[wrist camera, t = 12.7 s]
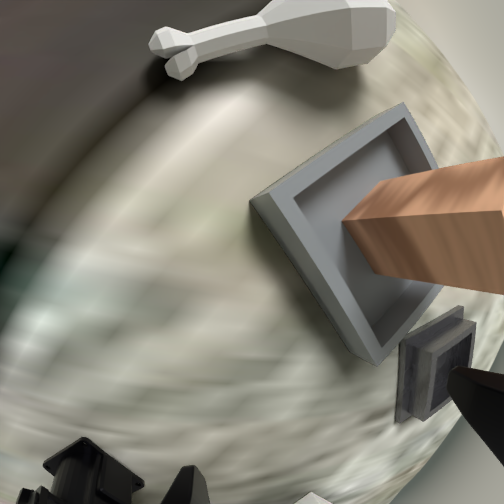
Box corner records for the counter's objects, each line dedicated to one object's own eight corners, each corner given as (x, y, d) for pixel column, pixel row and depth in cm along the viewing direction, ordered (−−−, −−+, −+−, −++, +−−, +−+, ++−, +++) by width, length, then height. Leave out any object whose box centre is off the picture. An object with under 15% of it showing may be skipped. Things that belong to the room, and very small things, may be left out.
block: (375, 274, 21) (520, 297, 9) (341, 220, 20) (501, 210, 8) (408, 232, 22) (540, 232, 10) (380, 181, 21) (519, 153, 9)
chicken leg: (141, 27, 16) (129, -8, 9) (339, -14, 18) (396, -37, 11) (175, 115, 21) (178, 121, 14) (363, 62, 22) (426, 61, 15)
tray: (349, 351, 22) (376, 366, 18) (249, 200, 19) (268, 192, 15) (441, 246, 25) (468, 247, 21) (376, 114, 22) (403, 102, 18)
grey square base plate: (394, 420, 24) (415, 433, 21) (399, 337, 23) (425, 347, 20) (451, 380, 27) (470, 389, 24) (458, 305, 26) (481, 310, 23)
